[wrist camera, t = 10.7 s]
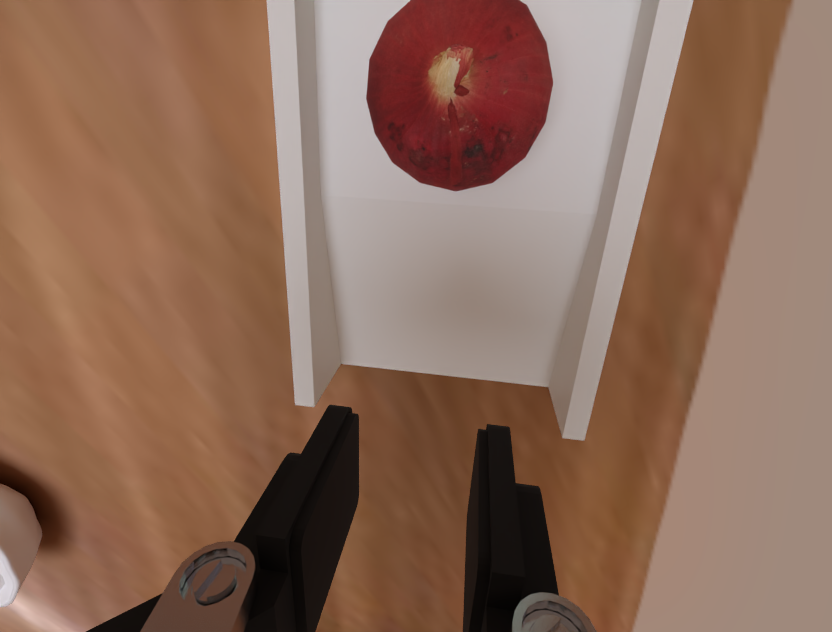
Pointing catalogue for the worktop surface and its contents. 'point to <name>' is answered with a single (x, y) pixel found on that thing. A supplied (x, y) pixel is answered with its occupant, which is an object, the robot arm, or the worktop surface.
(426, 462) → the worktop surface
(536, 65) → the red round fruit
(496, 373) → the white piece
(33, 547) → the cell model
